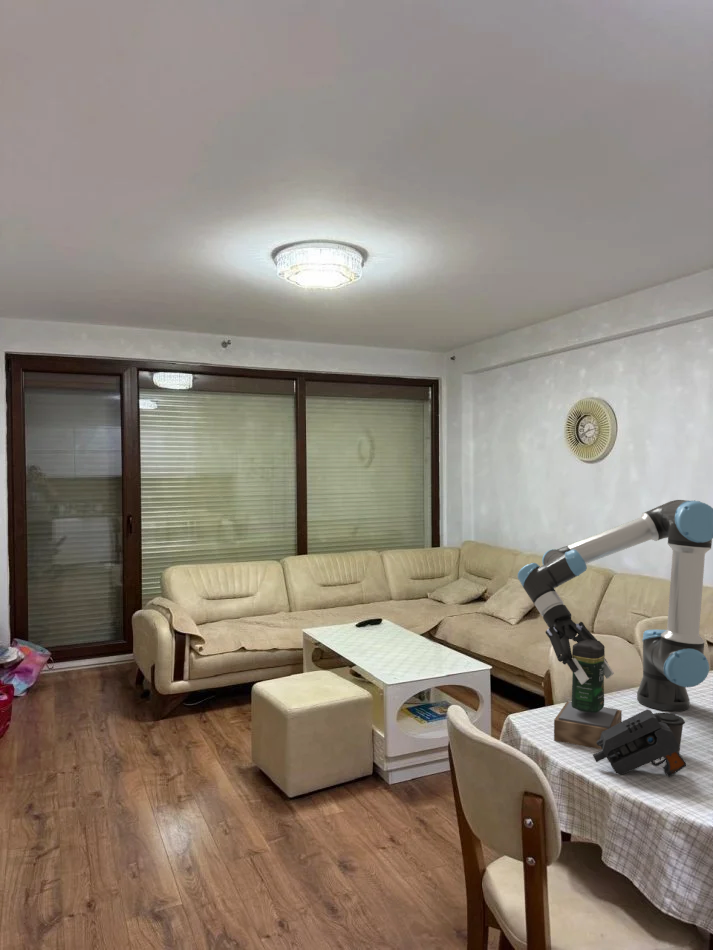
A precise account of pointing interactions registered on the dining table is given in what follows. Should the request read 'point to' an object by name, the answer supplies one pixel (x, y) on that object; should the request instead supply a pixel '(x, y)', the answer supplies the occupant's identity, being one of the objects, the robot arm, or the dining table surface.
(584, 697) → the coffee jar
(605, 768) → the dining table surface
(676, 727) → the coffee cup
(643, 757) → the grey toy blaster gun
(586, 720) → the wooden block
